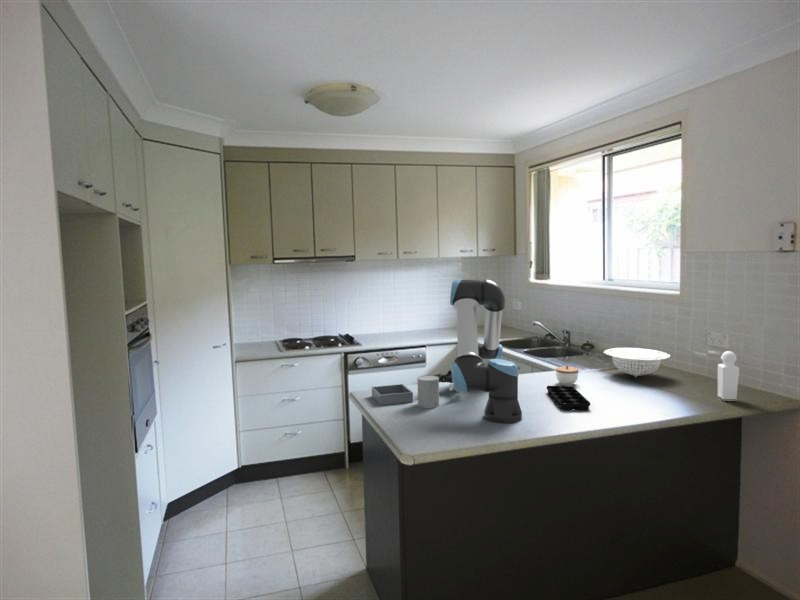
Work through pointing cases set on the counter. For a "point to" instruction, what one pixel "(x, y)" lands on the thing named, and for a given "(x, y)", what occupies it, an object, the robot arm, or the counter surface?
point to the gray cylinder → (428, 391)
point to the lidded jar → (567, 375)
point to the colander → (636, 359)
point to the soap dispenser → (728, 376)
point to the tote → (392, 394)
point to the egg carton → (568, 398)
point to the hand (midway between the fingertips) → (436, 385)
